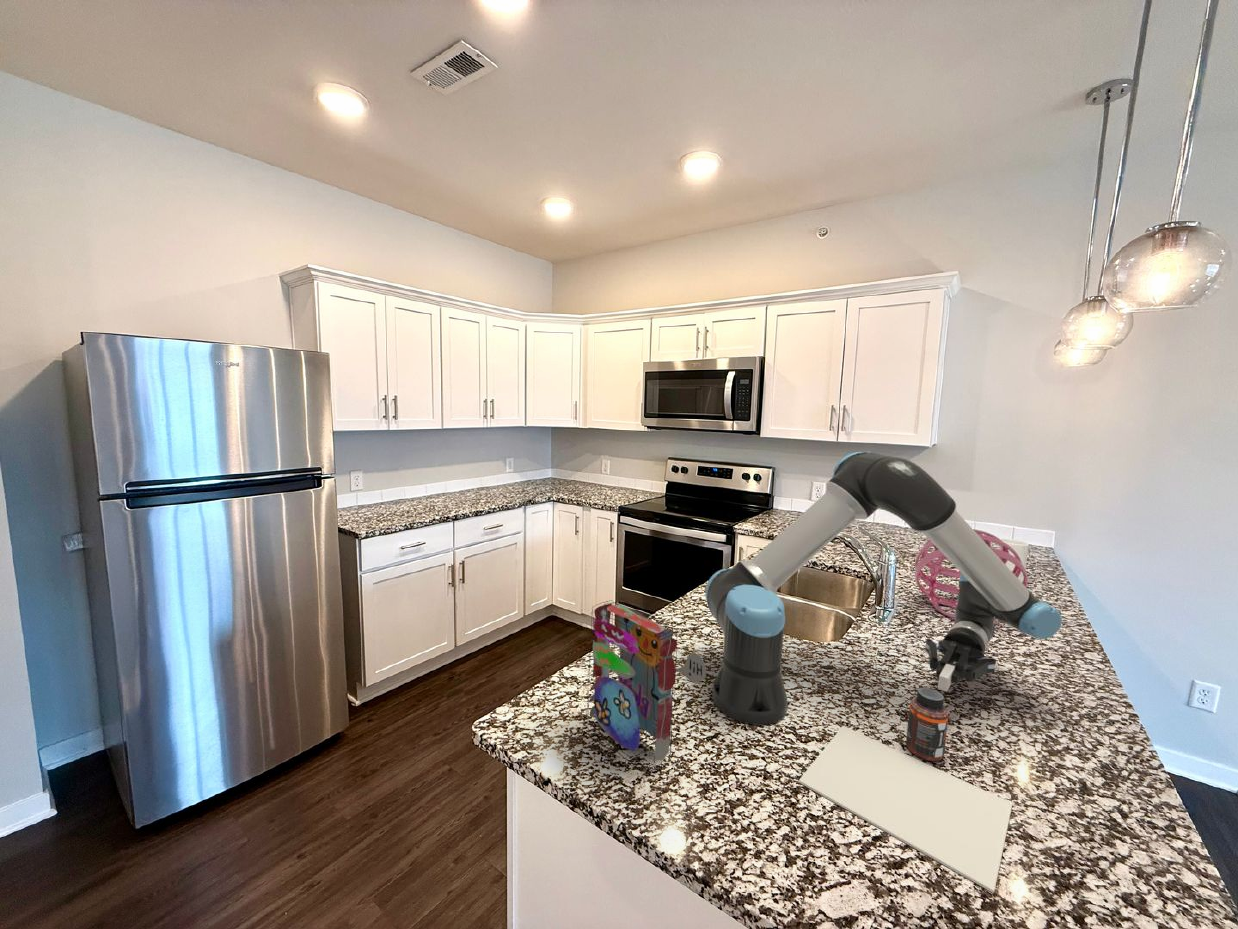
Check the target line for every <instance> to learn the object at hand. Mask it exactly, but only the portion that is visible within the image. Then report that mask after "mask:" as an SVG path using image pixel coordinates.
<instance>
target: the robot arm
mask: <svg viewBox="0 0 1238 929" xmlns="http://www.w3.org/2000/svg"><path fill="white" fill-rule="evenodd" d="M825 486H826V487H825V488H826V490H825V493H824V494H823V495H822V496H821V497H819V499H817V500H816V501H815V502H814V503H813V504H811V505H810V507H809V508H807V509H806V510H805V511H804V512H803V513H802V514H800V516H799V517H797V518H796V519H794V521H793V522H792V523H790V525H788V526H787V527H786V528H785V529H783V531H782V532H780V533H779V535H777V536H775V538H774V539H772V541H771V542H770V543H769V544H767V545H766V546H765V547H764V548H763V549H762V550H761V551H759V553H757V554H756V555H755V556H754V557H753V558H751V559H750V560H742V559H741V560H739V561H738V562H737V563H736V564H735V565H734V566H733V567H730V568H723V569H720V570H717V571H716V572H714V574H712V576H710V578H709V580H708V582H707V584H706V587H705V601H706V604H707V607H708V609H709V612H710V613H711V615H712V616H713V617H714V618H715V621H716V622H717V623H718V625H719V627H720V629H721V631H723V651H722V654H723V655H722V656H723V657H722V663H721V665H720V668H719V671H718V673H717V675H716V677H715V680H714V682H713V685H712V686H713V687H712V701H713V703H714V705H715V707H716V708H717V709H718V710H719V711H720V712H722V713H723V714H724V715H726V716H727V717H728V718H731V719H733V720H736V721H738V722H742V723H746V724H749V725H756V726H757V725H759V726H760V725H763V726H764V725H771V724H774V723H777V722H779V721H781V720H782V719H783V718H785V716H786V715H787V711H788V697H787V692H786V688H785V684H784V680H783V678H782V672H781V668H782V657H783V656H782V654H783V644H784V633H785V632H784V631H785V623H786V614H785V604H784V602H783V600H782V598H781V597H780V596H779V595H777V594H778V593H777V592H778V590H779V589H780V588H781V586H783V585H784V583H786V582H787V580H789V579H790V578H791V577H792V576H794V575H795V574H796V572H798V571H799V570H800V569H801V568H803V566H805V565H806V564H808V562H809V561H810V560H811V559H813V557H815V556H816V555H817V554H818V553H819V552H820V551H821V550H823V549H824V548H825V547H826V546H827V545H828V544H829V543H831V541H833V540H834V539H835V538H836V537H837V536H838V535H839V534H841V533H842V532H843V531H844V530H845V529H846V528H847V527H848V526H850V525H851V523H853V522H854V521H855V520H862V521H863V520H867V519H868V518H870V517H871V516H872V515H873V514H874V513H875V512H876V511H877V510H878V509H881V510H883V511H885V512H888V513H890V514H892V515H894V516H896V517H898V518H900V519H901V520H902V521H904V523H906V524H907V525H908V526H909V527H910V529H912V530H913V531H915V532H918V533H919V532H920V533H922V534H923V535H925V537H926V538H927V539H928V540H930V541H931V542H932V543H933V544H934V545H935V546H936V547H937V548H938V549H939V550H940V551H941V552H942V553H943V554H944V556H945V557H946V558H947V559H948V560H947V559H946V560H947V561H949V562H950V563H951V564H952V565H953V566H954V568H955V569H956V570H959V571H960V572H961V575H960V578H958V587H959V589H958V594H957V599H956V601H957V607H956V608H955V614H954V615H955V618H954V622H953V624H952V626H951V627H950V629H949V630H948V632H946V635H945V636H944V638H943V640H940V641H938V642H935V641H934V640H932V639H931V638H926V639H925V646H924V650H925V651H926V653H927V654H928V663H929V668H930V669H931V670H933V671H936V672H935V677H936V678H938V682H937V684H938V685H937V689H938V690H941V691H944V692H948V690H949V689H950V687H951V684H952V683H953V684H955V685H957V684H959V683H960V681H961V680H962V679H964V680H965V681H966V682H968V683H973V682H974V681H977V679H979V678H981V677H983V676H984V675H986V674H988V673H994V672H995V670H996V663H997V662H996V661H997V660H996V659H995V658H993V657H990V658H989V657H987V658H986V657H985V653H986V650H987V648H988V646H989V643H990V641H991V640H992V638H993V637H994V633H995V623H994V622H995V618H996V619H998V620H999V621H1001V622H1003V623H1004V624H1007V625H1008V626H1010V627H1012V628H1014V629H1016V630H1018V631H1019V632H1021V633H1022V634H1024V635H1028V636H1030V637H1032V638H1034V639H1038V640H1046V639H1051V638H1052V637H1054V636H1055V635H1056V633H1057V632H1059V631H1060V629H1061V627H1062V623H1063V620H1062V615H1061V613H1060V611H1059V609H1057V608H1056V607H1054V606H1052V605H1050V604H1048V602H1046V601H1042V600H1039V598H1037V597H1036V596H1035V595H1034V593H1032V592H1031V591H1030V589H1029V588H1028V587H1027V586H1026V587H1025V586H1024V585H1023V583H1022V582H1021V581H1020V580H1019V579H1018V578H1017V577H1016V576H1015V575H1014V574H1013V573H1012V571H1011V570H1010V569H1009V568H1008V567H1007V566H1006V565H1005V564H1004V563H1003V562H1002V560H1001V559H1000V558H999V557H998V556H997V555H996V554H995V553H994V552H993V551H992V550H991V548H990V547H989V546H988V545H987V544H986V543H985V542H984V541H983V540H982V539H981V538H980V536H979V535H978V534H977V533H976V532H975V531H974V530H973V529H974V528H972V526H971V525H970V524H969V523H968V522H967V521H966V520H965V519H964V518H963V516H962V515H960V513H959V512H958V511H957V503H956V501H955V500H954V498H952V497H951V495H950V494H949V493H948V492H947V491H946V490H945V489H944V488H943V487H942V486H941V485H940V484H939V482H937V481H936V480H935V479H934V478H933V477H932V476H931V475H930V474H929V473H928V472H927V471H925V470H924V469H923V468H922V467H921V466H919V465H918V464H916V463H914V462H912V461H911V460H908V458H907V459H906V458H903V457H898V456H890V455H884V454H879V453H877V452H874V451H858V452H852V453H849V454H847V455H846V456H844V457H842V458H841V459H840V460H839V461H838V462H837V464H836V465H835V466H834V469H833V475H832V478H831V479H829V480H828V481H827V482H826V484H825ZM938 651H939V652H940V653H941V654H942V655H943V656H942V658H941V659H940V660H938V659H939V658H938ZM954 662H955V665H953V664H954Z"/></svg>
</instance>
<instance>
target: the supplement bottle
mask: <svg viewBox="0 0 1238 929" xmlns="http://www.w3.org/2000/svg"><path fill="white" fill-rule="evenodd" d="M944 700H945V697H944V696H943V694H942V693H941V692H939V691H938V690H935V689H933V688H929V687H920V688H918V689H917V694H916V697H914V698H912V699H911V700H910V703H909V710H908V718H907V719H908V721H907V731H906V738H905V739H906V740H905V742H906V744H905V745H906V747H907V748H908V751H910V752H911V753H912V754H913V755H915V756H916V757H918V758H920V759H922V760H925V761H929V762H940V761H942V759H944V757H945V751H946V741H947V731H948V726H949V724H948V723H949V711H948V709H947V708H946V707H945V705H944V704H945V703H944Z"/></svg>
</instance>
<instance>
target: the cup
mask: <svg viewBox="0 0 1238 929" xmlns="http://www.w3.org/2000/svg"><path fill="white" fill-rule="evenodd" d="M999 539H1000V540H1002V541H1003V542H1005V543H1006V544H1008V545H1009V546H1010V547H1012V548H1013V549H1014V550H1015V551H1016V553H1017V554H1018V555H1019V557H1020V559H1021V562H1022V564H1023V566H1024V567H1025V569H1026V570H1027V562H1028V561H1027V560H1028V555H1029V548H1030V547H1029V546H1030V543H1029V542H1027V541H1025V540H1019V539H1014V538H1013V539H1012V538H999ZM998 549H999V550H1000V546H999V545H998ZM1008 551H1009V554H1011V555H1012V556H1014V555H1013V553H1012V552H1011V551H1010V550H1008ZM1014 557H1015V556H1014ZM1005 565H1006V566H1007V567H1008V568H1009V569H1010V570H1011V571H1013V569H1014V567H1015V564H1013V563H1012V562H1010V561H1007V562H1006V564H1005ZM1018 579H1019V580H1020V581H1021V582H1023V573H1022V571H1021V573H1020V575H1019V577H1018Z"/></svg>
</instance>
